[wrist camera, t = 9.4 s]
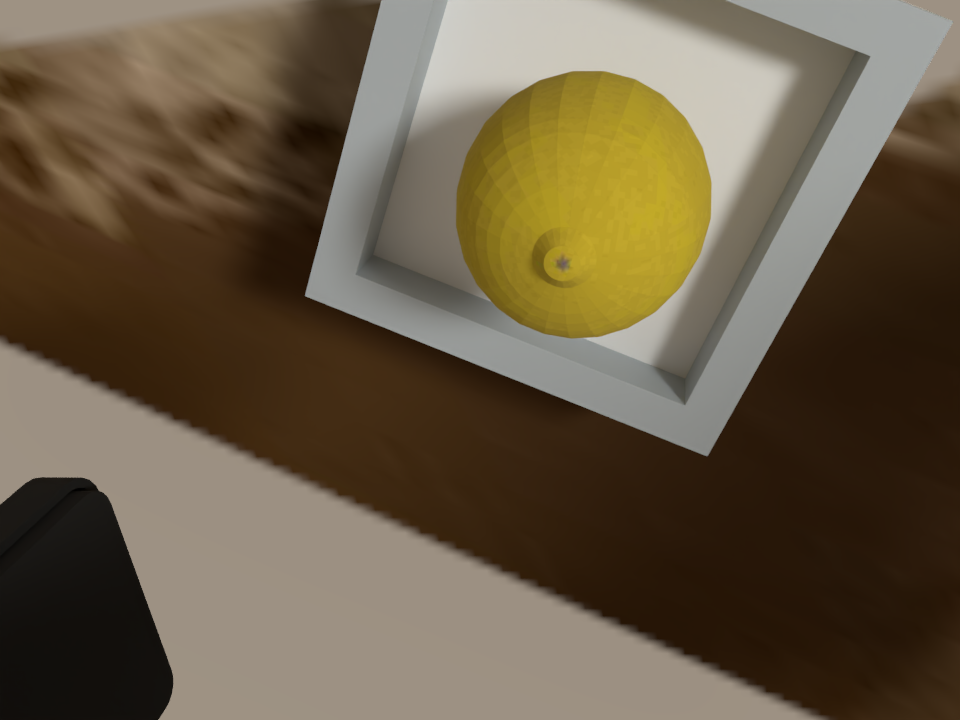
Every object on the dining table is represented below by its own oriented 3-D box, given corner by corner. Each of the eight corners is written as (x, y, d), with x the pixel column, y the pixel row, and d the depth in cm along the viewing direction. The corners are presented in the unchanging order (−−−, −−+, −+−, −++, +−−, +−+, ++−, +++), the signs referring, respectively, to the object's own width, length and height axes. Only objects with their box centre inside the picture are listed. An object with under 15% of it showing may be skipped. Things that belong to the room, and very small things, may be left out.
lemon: (712, 250, 24) (725, 391, 17) (509, 267, 25) (442, 404, 18) (701, 32, 22) (709, 90, 15) (478, 64, 23) (388, 130, 16)
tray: (898, -2, 24) (953, 21, 19) (703, 366, 30) (707, 456, 25) (480, -162, 24) (428, -181, 19) (366, 232, 30) (304, 296, 25)
